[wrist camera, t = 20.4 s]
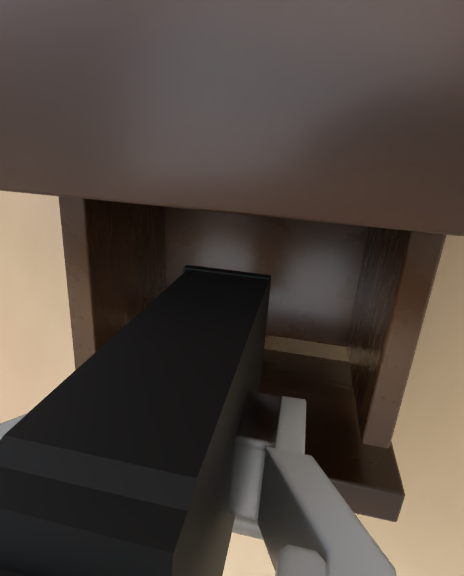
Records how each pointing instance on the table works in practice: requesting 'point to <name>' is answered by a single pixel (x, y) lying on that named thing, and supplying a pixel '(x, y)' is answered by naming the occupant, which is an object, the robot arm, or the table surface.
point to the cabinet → (240, 107)
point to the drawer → (277, 316)
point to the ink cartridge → (139, 441)
